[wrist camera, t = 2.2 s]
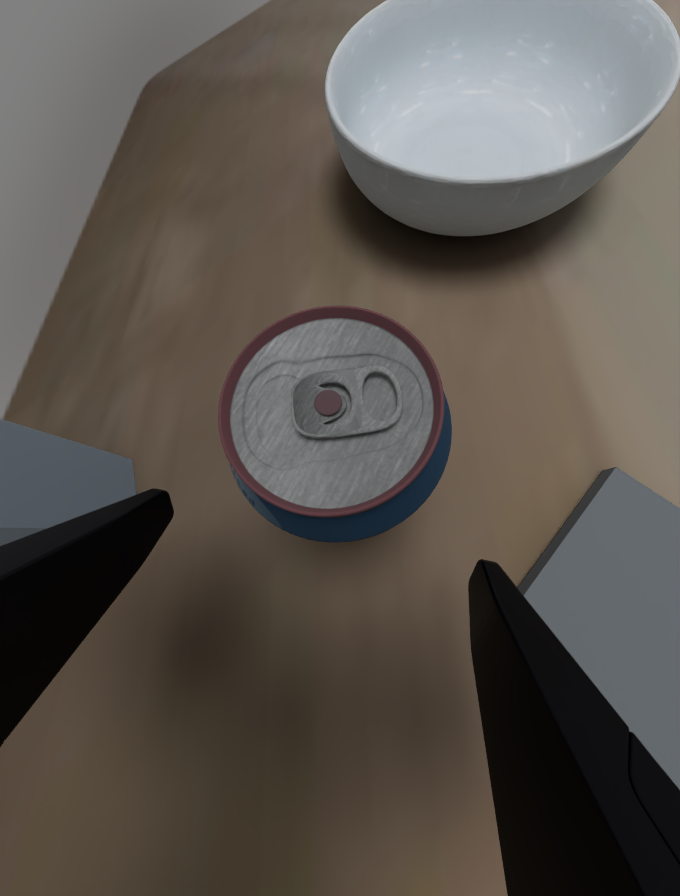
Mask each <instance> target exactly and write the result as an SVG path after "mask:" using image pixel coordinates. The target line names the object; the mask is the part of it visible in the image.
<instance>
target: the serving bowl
mask: <svg viewBox="0 0 680 896" xmlns="http://www.w3.org/2000/svg"><path fill="white" fill-rule="evenodd" d="M679 77H680V39H679V36H678V33H677V30H676V28H675V26H674V25H673V23H672V21H671V20H670V18H669V17H668V15H667V14H666V13H665V12H664V11H663V10H662V9H661V7H659V6H658V5H657V4H656V3H655V2H654V1H653V0H386V1H385V2H383V3H382V4H380V5H379V6H377V7H376V8H374V9H373V10H371V11H370V12H369V13H367V14H366V15H365V16H364V17H363V18H361V19H360V20H359V21H358V22H357V23H356V24H355V25H354V26H353V27H352V28H351V29H350V31H349V32H348V33H347V34H346V35H345V37H344V38H343V39H342V41H341V42H340V43H339V45H338V47H337V49H336V50H335V52H334V54H333V57H332V59H331V61H330V64H329V67H328V70H327V74H326V80H325V100H326V106H327V111H328V115H329V119H330V123H331V127H332V131H333V136H334V139H335V142H336V145H337V148H338V151H339V154H340V156H341V159H342V161H343V163H344V165H345V167H346V169H347V171H348V173H349V175H350V176H351V178H352V180H353V181H354V183H355V184H356V185H357V187H358V188H359V189H360V191H361V192H362V193H363V194H364V195H365V196H366V197H367V198H368V199H369V200H370V201H371V202H372V203H373V204H374V205H375V206H376V207H377V208H379V209H380V210H381V211H383V212H384V213H385V214H387V215H388V216H390V217H392V218H393V219H395V220H397V221H399V222H401V223H403V224H405V225H408V226H410V227H413V228H415V229H418V230H422V231H425V232H429V233H434V234H440V235H448V236H481V235H488V234H495V233H499V232H504V231H508V230H511V229H515V228H518V227H521V226H524V225H527V224H529V223H532V222H534V221H537V220H539V219H541V218H543V217H546V216H548V215H550V214H552V213H553V212H555V211H557V210H559V209H561V208H563V207H564V206H566V205H567V204H569V203H571V202H572V201H574V200H575V199H577V198H578V197H580V196H581V195H582V194H584V193H585V192H586V191H588V190H589V189H590V188H592V187H593V186H594V185H595V184H596V183H598V182H599V181H600V180H601V179H602V178H603V177H604V176H605V175H607V174H608V173H609V172H610V171H611V170H612V169H613V168H614V167H615V166H616V165H617V164H618V163H619V162H620V161H621V160H622V159H623V158H624V157H625V155H626V154H627V153H628V152H629V151H630V150H631V148H632V147H633V146H634V145H635V144H636V143H637V142H638V140H639V139H640V138H641V137H642V136H643V134H644V133H645V132H646V131H647V129H648V128H649V127H650V126H651V125H652V123H653V122H654V121H655V120H656V118H657V117H658V116H659V115H660V113H661V112H662V110H663V109H664V108H665V106H666V105H667V103H668V102H669V100H670V99H671V97H672V95H673V93H674V91H675V89H676V86H677V84H678V81H679Z"/></svg>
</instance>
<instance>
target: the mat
mask: <svg viewBox="0 0 680 896" xmlns="http://www.w3.org/2000/svg"><path fill="white" fill-rule="evenodd" d="M518 589H519V591H520V592H521V593H522V594H523V596H524V597H525V598H526V599H527V601H528V602H529V603H530V604H531V606H532V607H533V608H534V609H535V611H536V612H537V613H538V614H539V616H540V617H541V618H542V619H543V621H544V622H545V623H546V624H547V626H548V627H549V628H550V629H551V631H552V632H553V633H554V634H555V636H556V637H557V638H558V639H559V641H560V642H561V643H562V644H563V646H564V647H565V648H566V649H567V651H568V652H569V653H570V654H571V656H572V657H573V658H574V659H575V661H576V662H577V663H578V664H579V665H580V667H581V668H582V669H583V670H584V672H585V673H586V674H587V675H588V677H589V678H590V679H591V680H592V682H593V683H594V684H595V685H596V687H597V688H598V689H599V690H600V692H601V693H602V694H603V695H604V697H605V698H606V699H607V700H608V702H609V703H610V704H611V705H612V707H613V708H614V709H615V710H616V712H617V713H618V714H619V715H620V717H621V718H622V719H623V720H624V722H625V723H626V724H627V725H628V727H629V732H633V733H634V734H635V735H636V736H637V738H638V739H639V740H640V741H641V743H642V744H643V745H644V746H645V748H646V749H647V750H648V751H649V753H650V754H651V755H652V756H653V758H654V759H655V760H656V761H657V763H658V764H659V765H660V766H661V767H662V769H663V770H664V771H665V772H666V773H667V775H668V776H669V777H670V778H671V780H672V781H673V782H674V783H675V784H676V786H677V787H678V788H679V789H680V508H678V507H677V506H675V505H674V504H672V503H670V502H669V501H667V500H666V499H664V498H663V497H661V496H660V495H658V494H657V493H655V492H654V491H652V490H651V489H649V488H647V487H646V486H644V485H643V484H641V483H640V482H638V481H637V480H635V479H634V478H632V477H631V476H629V475H628V474H626V473H625V472H623V471H621V470H620V469H618V468H617V467H614V468H610V469H607V470H603V471H602V472H601V474H600V475H599V476H598V478H597V479H596V480H595V482H594V483H593V485H592V486H591V487H590V489H589V490H588V491H587V493H586V494H585V496H584V497H583V498H582V500H581V501H580V503H579V504H578V505H577V507H576V508H575V509H574V511H573V512H572V514H571V515H570V516H569V518H568V519H567V520H566V522H565V523H564V525H563V526H562V527H561V529H560V530H559V531H558V533H557V534H556V536H555V537H554V538H553V540H552V541H551V542H550V544H549V545H548V547H547V548H546V549H545V551H544V552H543V554H542V555H541V556H540V558H539V559H538V560H537V562H536V563H535V565H534V566H533V567H532V569H531V570H530V571H529V573H528V574H527V576H526V577H525V578H524V580H523V581H522V582H521V584H520V585H519V587H518Z"/></svg>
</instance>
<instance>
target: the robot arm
mask: <svg viewBox="0 0 680 896" xmlns="http://www.w3.org/2000/svg"><path fill="white" fill-rule="evenodd" d="M173 514H174V510H173V506H172V503H171V499H170V496H169V493H168V492H167V491H164V490H160V489H150V490H147V491H145V492H142V493H140V494H137V495H134V496H132V497H129V498H126V499H124V500H121V501H118V502H116V503H113V504H110V505H108V506H105V507H102V508H100V509H97V510H94V511H92V512H89V513H87V514H84V515H81V516H79V517H76V518H73V519H71V520H68V521H65V522H63V523H60V524H57V525H55V526H52V527H49V528H47V529H44V530H41V531H39V532H36V533H33V534H31V535H28V536H26V537H23V538H20V539H18V540H15V541H12V542H10V543H7V544H4V545H2V546H0V747H1V745H2V744H3V743H4V740H6V739H7V737H8V736H9V735H10V733H11V732H12V731H13V730H14V728H15V727H16V726H17V724H18V723H19V722H20V721H21V719H22V718H23V717H24V716H25V714H26V713H27V712H28V710H29V709H30V708H31V707H32V705H33V704H34V703H35V701H36V700H37V699H38V698H39V696H40V695H41V694H42V692H43V691H44V690H45V689H46V687H47V686H48V685H49V684H50V682H51V681H52V680H53V678H54V677H55V676H56V675H57V673H58V672H59V671H60V669H61V668H62V667H63V666H64V664H65V663H66V662H67V660H68V659H69V658H70V657H71V655H72V654H73V653H74V652H75V650H76V649H77V648H78V646H79V645H80V644H81V643H82V641H83V640H84V639H85V637H86V636H87V635H88V634H89V632H90V631H91V630H92V628H93V627H94V626H95V625H96V623H97V622H98V621H99V620H100V618H101V617H102V616H103V614H104V613H105V612H106V611H107V609H108V608H109V607H110V605H111V604H112V603H113V602H114V600H115V599H116V598H117V596H118V595H119V594H120V593H121V591H122V590H123V589H124V588H125V586H126V585H127V584H128V582H129V581H130V580H131V579H132V577H133V576H134V575H135V573H136V572H137V571H138V570H139V568H140V567H141V566H142V564H143V563H144V561H145V560H146V558H147V557H148V555H149V554H150V552H151V551H152V549H153V548H154V546H155V545H156V543H157V541H158V540H159V538H160V537H161V535H162V534H163V532H164V531H165V529H166V527H167V526H168V524H169V523H170V521H171V520H172V518H173ZM468 591H469V615H470V639H471V652H472V660H473V667H474V674H475V680H476V687H477V694H478V700H479V707H480V714H481V720H482V727H483V734H484V741H485V747H486V754H487V761H488V767H489V774H490V781H491V787H492V794H493V801H494V807H495V814H496V821H497V827H498V834H499V841H500V847H501V854H502V861H503V867H504V874H505V881H506V887H507V894H508V896H680V789H679V788H678V787H677V786H676V784H675V783H674V782H673V781H672V780H671V778H670V777H669V776H668V775H667V773H666V772H665V771H664V770H663V769H662V767H661V766H660V765H659V764H658V763H657V761H656V760H655V759H654V758H653V756H652V755H651V754H650V753H649V751H648V750H647V749H646V748H645V746H644V745H643V744H642V743H641V741H640V740H639V739H638V738H637V736H636V735H635V734H634V733H633V732H629V727H628V725H627V724H626V723H625V722H624V720H623V719H622V718H621V717H620V715H619V714H618V713H617V712H616V710H615V709H614V708H613V707H612V705H611V704H610V703H609V702H608V700H607V699H606V698H605V697H604V695H603V694H602V693H601V692H600V690H599V689H598V688H597V687H596V685H595V684H594V683H593V682H592V680H591V679H590V678H589V677H588V675H587V674H586V673H585V672H584V670H583V669H582V668H581V667H580V665H579V664H578V663H577V662H576V661H575V659H574V658H573V657H572V656H571V654H570V653H569V652H568V651H567V649H566V648H565V647H564V646H563V644H562V643H561V642H560V641H559V639H558V638H557V637H556V636H555V634H554V633H553V632H552V631H551V629H550V628H549V627H548V626H547V624H546V623H545V622H544V621H543V619H542V618H541V617H540V616H539V614H538V613H537V612H536V611H535V609H534V608H533V607H532V606H531V604H530V603H529V602H528V601H527V599H526V598H525V597H524V596H523V594H522V593H521V592H520V591H519V589H518V588H517V587H516V586H515V584H514V583H513V582H512V581H511V579H510V578H509V577H508V576H507V574H506V573H505V572H504V571H503V569H502V568H501V567H500V566H499V565H498V564H497V563H496V562H492V561H488V560H483V559H480V560H479V561H478V562H477V564H476V566H475V568H474V570H473V573H472V575H471V577H470V579H469V585H468Z"/></svg>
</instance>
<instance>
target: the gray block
mask: <svg viewBox="0 0 680 896" xmlns="http://www.w3.org/2000/svg"><path fill="white" fill-rule="evenodd" d="M134 495H136V487H135V478H134V470H133V461H132V459H130V458H126V457H123V456H120V455H116V454H113V453H110V452H107V451H103V450H100V449H97V448H94V447H90V446H87V445H84V444H81V443H77V442H74V441H71V440H68V439H64V438H61V437H58V436H54V435H51V434H48V433H45V432H41V431H38V430H35V429H32V428H28V427H25V426H22V425H19V424H15V423H12V422H9V421H6V420H2V419H0V546H2V545H4V544H7V543H10V542H12V541H15V540H18V539H20V538H23V537H26V536H28V535H31V534H33V533H36V532H39V531H41V530H44V529H47V528H49V527H52V526H55V525H57V524H60V523H63V522H65V521H68V520H71V519H73V518H76V517H79V516H81V515H84V514H87V513H89V512H92V511H94V510H97V509H100V508H102V507H105V506H108V505H110V504H113V503H116V502H118V501H121V500H124V499H126V498H129V497H132V496H134Z"/></svg>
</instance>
